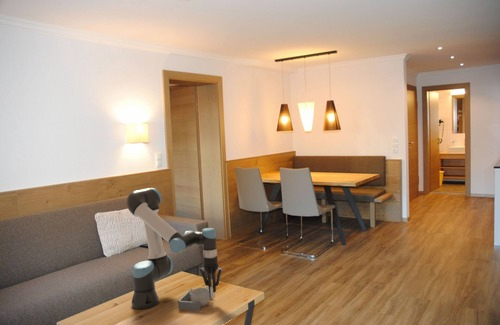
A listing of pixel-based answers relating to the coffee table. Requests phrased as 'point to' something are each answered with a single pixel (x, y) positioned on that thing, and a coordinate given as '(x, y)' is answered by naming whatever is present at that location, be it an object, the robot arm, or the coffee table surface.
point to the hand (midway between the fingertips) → (212, 297)
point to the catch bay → (187, 305)
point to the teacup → (200, 296)
